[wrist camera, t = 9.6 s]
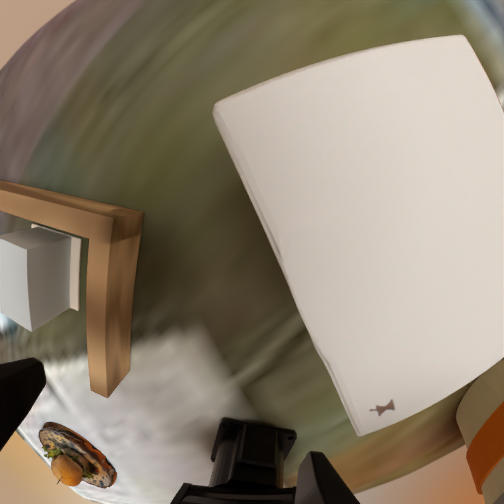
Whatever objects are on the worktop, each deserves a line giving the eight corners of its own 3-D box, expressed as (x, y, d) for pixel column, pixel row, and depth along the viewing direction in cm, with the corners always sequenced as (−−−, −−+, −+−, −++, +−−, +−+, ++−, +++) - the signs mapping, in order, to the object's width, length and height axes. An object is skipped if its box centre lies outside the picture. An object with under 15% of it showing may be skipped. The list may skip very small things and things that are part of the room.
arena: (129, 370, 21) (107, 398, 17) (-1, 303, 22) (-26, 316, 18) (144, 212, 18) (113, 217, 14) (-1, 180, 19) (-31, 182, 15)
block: (71, 236, 19) (26, 249, 14) (69, 307, 20) (31, 332, 15) (38, 226, 19) (-5, 236, 14) (38, 293, 20) (0, 312, 15)
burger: (33, 425, 26) (7, 454, 19) (66, 414, 24) (33, 453, 17) (90, 481, 28) (70, 512, 20) (135, 479, 26) (115, 520, 18)
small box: (395, 246, 17) (542, 330, 5) (308, 286, 18) (354, 446, 6) (347, 128, 16) (466, 27, 3) (254, 167, 17) (196, 107, 4)
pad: (79, 310, 20) (78, 311, 20) (32, 288, 21) (31, 288, 20) (82, 238, 19) (80, 239, 19) (33, 223, 19) (31, 223, 19)
